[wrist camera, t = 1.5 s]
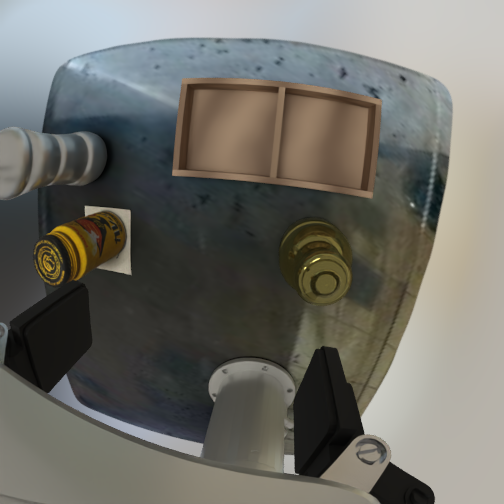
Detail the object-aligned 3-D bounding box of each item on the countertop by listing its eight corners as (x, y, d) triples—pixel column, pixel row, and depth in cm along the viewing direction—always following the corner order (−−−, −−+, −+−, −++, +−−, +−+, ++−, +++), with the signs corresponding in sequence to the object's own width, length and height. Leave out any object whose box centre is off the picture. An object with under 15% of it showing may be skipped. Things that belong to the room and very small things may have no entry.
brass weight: (302, 203, 30) (314, 220, 20) (356, 239, 30) (387, 271, 21) (266, 258, 32) (261, 297, 23) (319, 290, 33) (333, 338, 23)
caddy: (371, 106, 26) (381, 99, 22) (362, 194, 29) (372, 198, 26) (192, 87, 27) (182, 78, 24) (183, 174, 30) (172, 175, 27)
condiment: (131, 209, 32) (68, 233, 20) (131, 274, 34) (79, 318, 23) (85, 205, 32) (21, 225, 21) (88, 265, 35) (32, 301, 23)
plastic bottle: (68, 167, 31) (-55, 188, 12) (91, 123, 29) (-38, 115, 10) (98, 193, 31) (-32, 231, 12) (123, 147, 30) (-16, 149, 10)
